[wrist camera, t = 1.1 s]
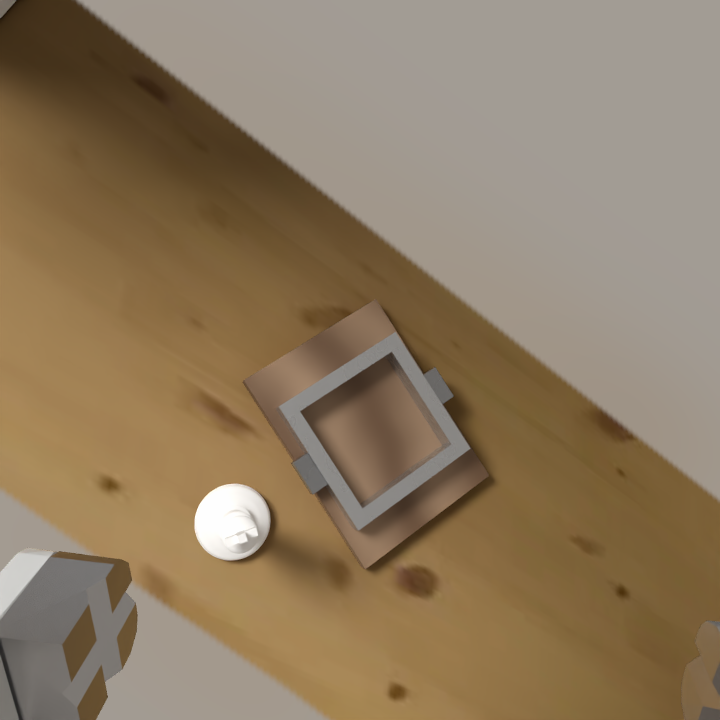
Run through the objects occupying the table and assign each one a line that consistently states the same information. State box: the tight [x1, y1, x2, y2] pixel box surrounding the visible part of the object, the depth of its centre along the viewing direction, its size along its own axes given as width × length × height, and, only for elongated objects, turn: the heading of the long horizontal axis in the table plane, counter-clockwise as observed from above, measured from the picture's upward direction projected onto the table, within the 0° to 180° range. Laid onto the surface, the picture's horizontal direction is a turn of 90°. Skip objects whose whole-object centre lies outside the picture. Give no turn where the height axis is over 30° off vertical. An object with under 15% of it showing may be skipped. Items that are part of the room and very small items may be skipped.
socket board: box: [243, 299, 489, 569], centre depth 46 cm, size 11×15×1 cm
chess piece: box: [195, 484, 271, 560], centre depth 38 cm, size 5×5×10 cm
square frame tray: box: [276, 332, 471, 531], centre depth 44 cm, size 12×10×2 cm
